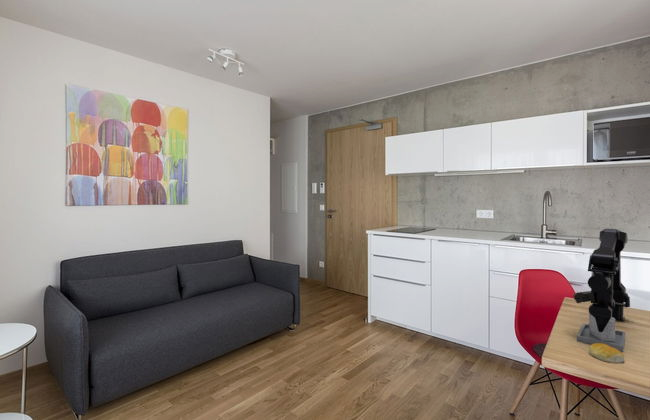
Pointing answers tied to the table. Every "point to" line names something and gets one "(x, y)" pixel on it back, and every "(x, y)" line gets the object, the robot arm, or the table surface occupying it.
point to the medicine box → (607, 333)
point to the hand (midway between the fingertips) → (601, 328)
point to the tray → (591, 339)
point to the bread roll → (606, 353)
